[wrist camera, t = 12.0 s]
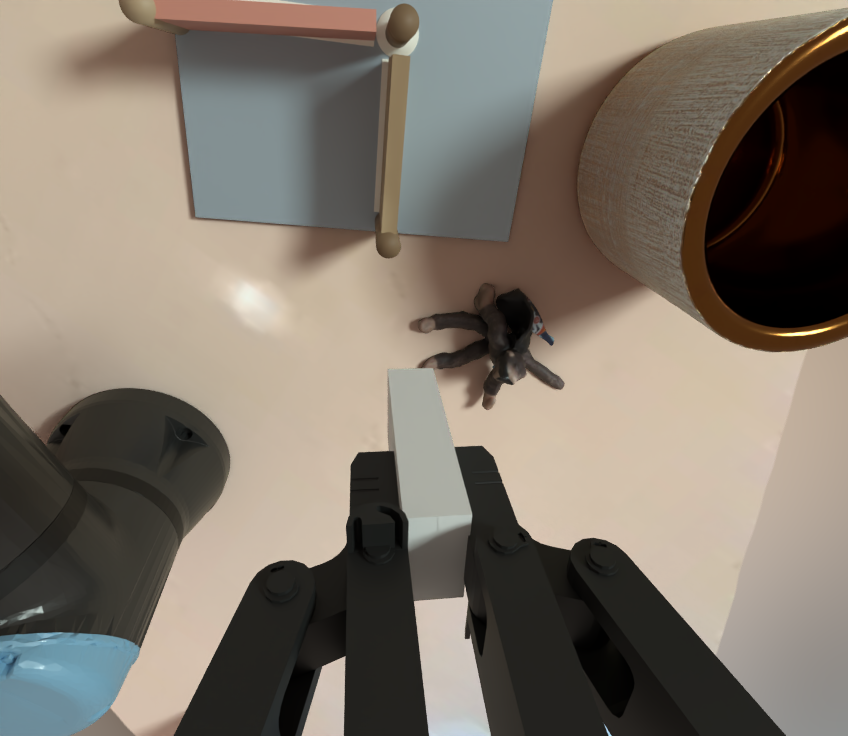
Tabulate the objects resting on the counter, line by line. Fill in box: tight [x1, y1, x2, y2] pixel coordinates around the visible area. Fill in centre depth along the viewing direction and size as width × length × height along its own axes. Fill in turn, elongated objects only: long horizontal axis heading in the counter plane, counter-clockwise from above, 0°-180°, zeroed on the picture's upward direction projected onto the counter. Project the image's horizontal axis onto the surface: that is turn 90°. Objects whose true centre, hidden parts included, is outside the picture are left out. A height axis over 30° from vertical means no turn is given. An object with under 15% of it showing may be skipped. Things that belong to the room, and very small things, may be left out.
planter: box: [577, 8, 848, 352], centre depth 33 cm, size 18×18×16 cm
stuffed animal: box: [418, 284, 565, 410], centre depth 46 cm, size 12×10×12 cm
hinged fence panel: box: [119, 0, 376, 41], centre depth 29 cm, size 13×2×6 cm, turn 87°
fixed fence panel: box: [375, 3, 419, 258], centre depth 33 cm, size 2×14×8 cm, turn 174°
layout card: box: [175, 0, 553, 242], centre depth 32 cm, size 24×28×1 cm
